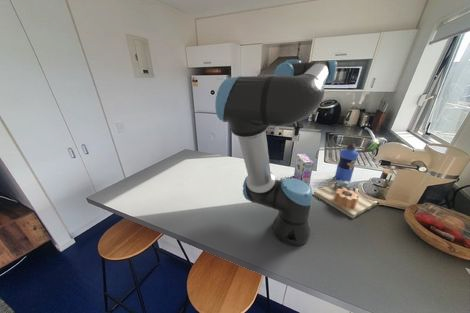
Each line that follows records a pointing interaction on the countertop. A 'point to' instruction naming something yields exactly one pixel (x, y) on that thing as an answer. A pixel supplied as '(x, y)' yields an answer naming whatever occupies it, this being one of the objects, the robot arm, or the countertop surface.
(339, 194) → the gear
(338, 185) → the gear
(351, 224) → the countertop surface
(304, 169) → the candy box
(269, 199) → the robot arm
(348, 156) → the water bottle
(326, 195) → the gear board
